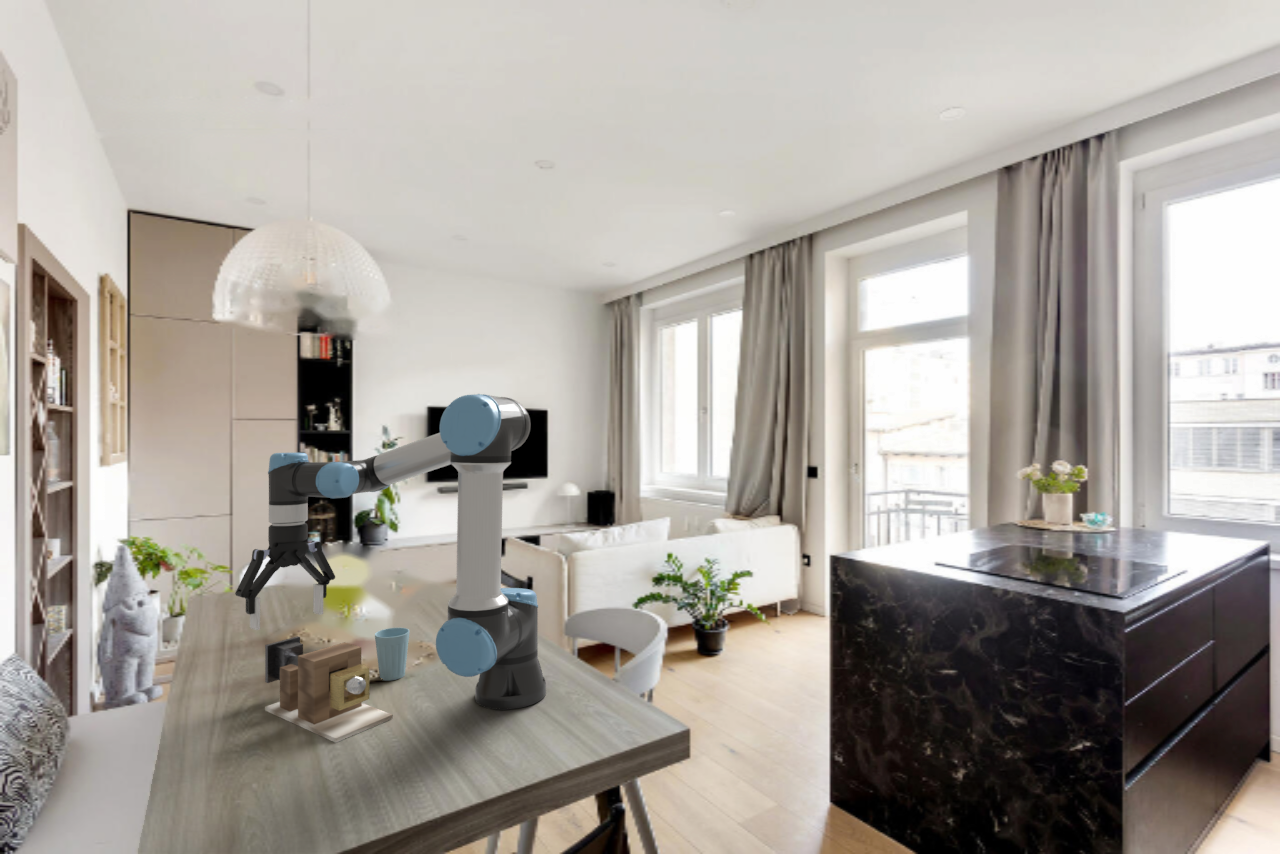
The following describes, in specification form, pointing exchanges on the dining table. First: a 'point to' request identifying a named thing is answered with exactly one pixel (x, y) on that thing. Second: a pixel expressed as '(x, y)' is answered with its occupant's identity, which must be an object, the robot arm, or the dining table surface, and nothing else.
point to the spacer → (338, 687)
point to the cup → (392, 652)
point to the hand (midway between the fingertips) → (287, 620)
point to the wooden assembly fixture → (323, 695)
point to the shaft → (288, 654)
